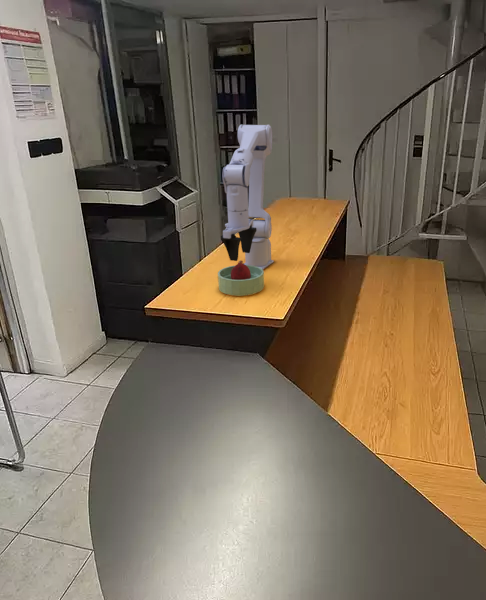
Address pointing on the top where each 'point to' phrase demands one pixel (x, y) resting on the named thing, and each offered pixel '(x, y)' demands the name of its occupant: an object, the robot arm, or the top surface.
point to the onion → (240, 272)
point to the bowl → (241, 282)
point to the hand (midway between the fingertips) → (240, 256)
